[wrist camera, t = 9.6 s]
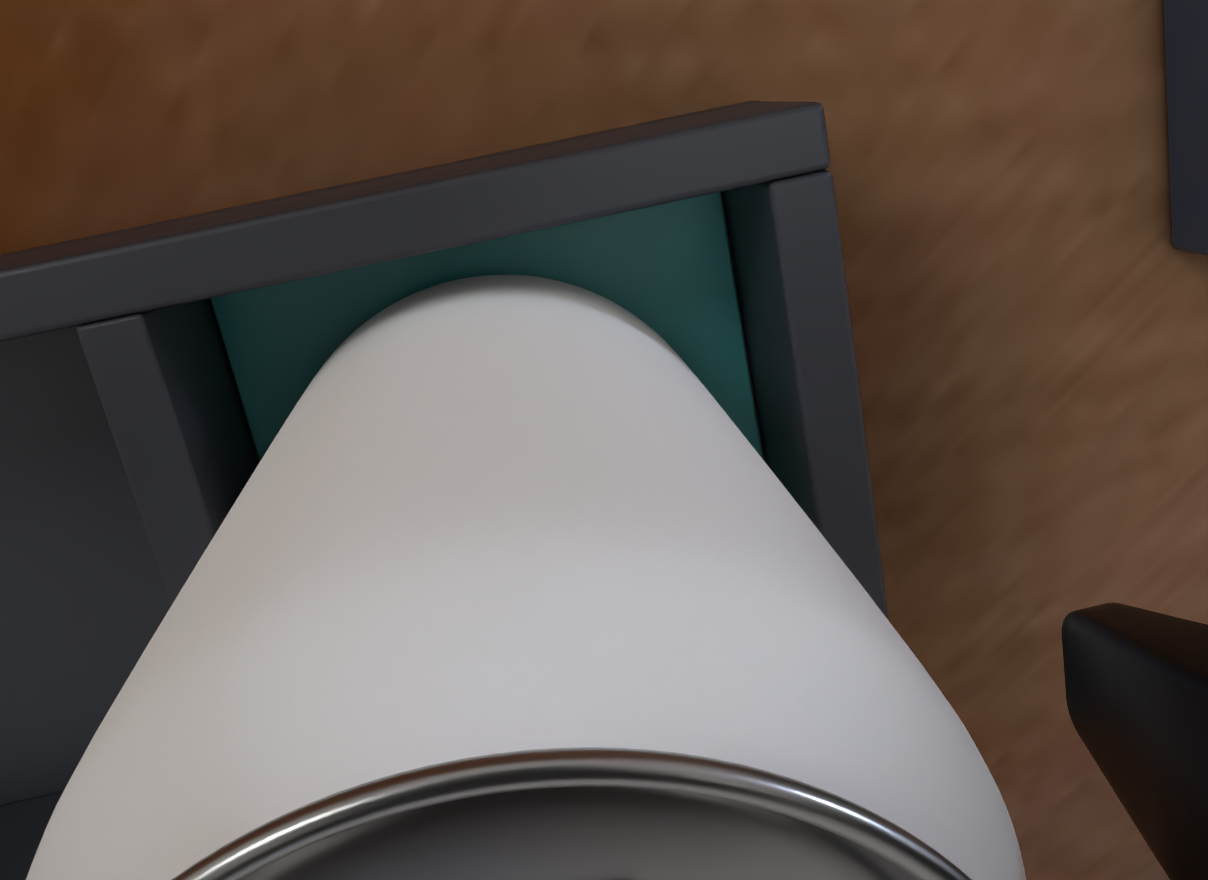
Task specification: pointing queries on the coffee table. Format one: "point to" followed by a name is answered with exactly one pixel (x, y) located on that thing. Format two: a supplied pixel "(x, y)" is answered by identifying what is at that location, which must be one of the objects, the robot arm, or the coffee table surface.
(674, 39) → the coffee table surface
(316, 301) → the divided tray
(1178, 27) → the grey button base
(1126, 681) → the robot arm
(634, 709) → the can
